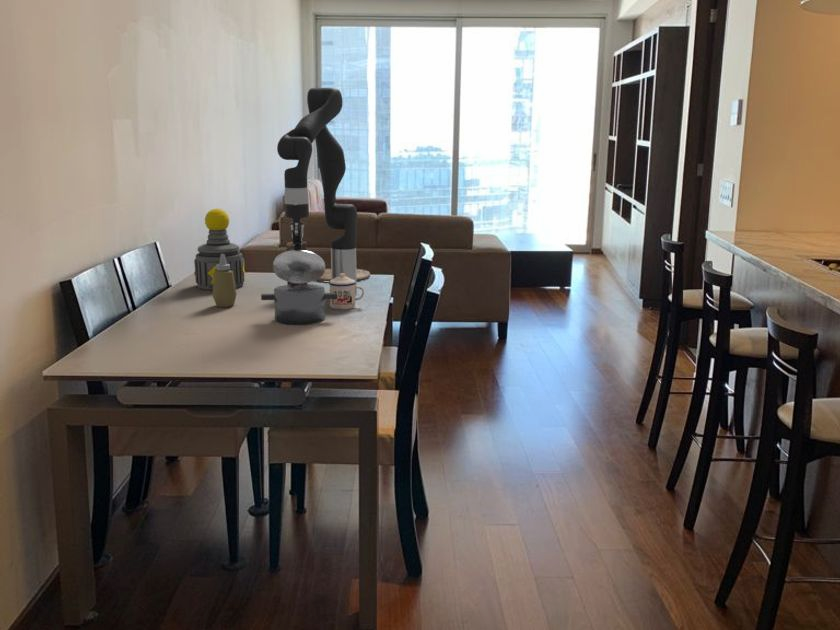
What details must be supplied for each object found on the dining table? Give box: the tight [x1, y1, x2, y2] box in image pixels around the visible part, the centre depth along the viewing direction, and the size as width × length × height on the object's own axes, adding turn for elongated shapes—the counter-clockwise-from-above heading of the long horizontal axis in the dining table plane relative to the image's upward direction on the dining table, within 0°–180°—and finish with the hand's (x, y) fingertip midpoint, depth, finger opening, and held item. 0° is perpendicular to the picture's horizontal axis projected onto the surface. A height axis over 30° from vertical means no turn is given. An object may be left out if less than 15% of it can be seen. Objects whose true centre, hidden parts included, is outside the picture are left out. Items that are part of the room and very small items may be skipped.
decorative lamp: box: [193, 208, 246, 291], centre depth 310 cm, size 19×19×30 cm
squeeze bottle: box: [212, 254, 237, 308], centre depth 277 cm, size 8×8×18 cm
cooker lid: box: [272, 249, 326, 284], centre depth 260 cm, size 17×17×3 cm
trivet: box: [316, 268, 371, 282], centre depth 332 cm, size 25×25×2 cm
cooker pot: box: [260, 283, 337, 326], centre depth 259 cm, size 16×24×10 cm, turn 95°
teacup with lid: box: [328, 273, 365, 310], centre depth 276 cm, size 12×9×12 cm
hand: (298, 256), depth 256 cm, fingers closed
